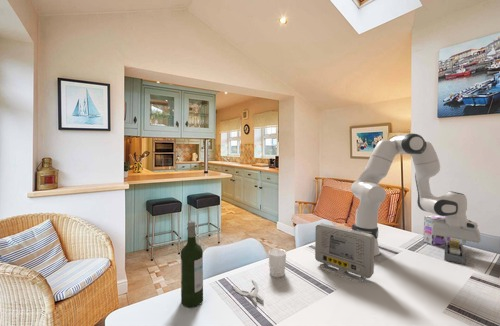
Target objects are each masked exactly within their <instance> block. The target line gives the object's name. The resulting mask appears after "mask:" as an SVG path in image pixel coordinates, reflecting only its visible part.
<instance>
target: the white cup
mask: <svg viewBox="0 0 500 326" xmlns="http://www.w3.org/2000/svg"><path fill="white" fill-rule="evenodd" d="M286 258H287V251H286V250H284V249H282V248H272V249H270V250H268V267H269V275H270V276H271V277H273V278H282V277H285V272H286V271H285V269H286V263H287V262H286V261H287V259H286Z"/></svg>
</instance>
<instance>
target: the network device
mask: <svg viewBox="0 0 500 326" xmlns="http://www.w3.org/2000/svg"><path fill="white" fill-rule="evenodd" d="M314 239H315V240H314V241H315V243H314V245H315V246H314V247H315V248H314V249H315V251H314V253H315V254H314V255H315V256H314V257H315V261H317V262H319V263H322V264H321V265H320V269H322V270H323V271H326V272H327V273H331V274H334V275H336V276H338V277H342V278H344V279H347V280H350V281H353V282H357V283H360V281H361V282H363V281H364V280H365V279H370V278H372V276H373V275H374V272H375V271H374V270H375V256H374V243H375V238H374V236H373V235H372V234H369V233H364V232H359V231H355V230H352V229H351V228H350V229H349V228H345V227H341V226H337V225H332V224H327V223H324V222H322V223H321V222H320V223H318V224H316V225H315V238H314ZM326 266H331V267H334V268H336V269H337V270H336V271H334V270H331V269H329V268H326ZM346 273H351V274H354V275H357V276H358V277H359V276H360V277H359V278H353V277H351V276H349V275H345V274H346ZM362 280H363V281H362Z"/></svg>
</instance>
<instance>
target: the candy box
mask: <svg viewBox="0 0 500 326" xmlns="http://www.w3.org/2000/svg"><path fill="white" fill-rule="evenodd" d="M435 218H437V219H444V220H445V216H439V215H436V214H434V215H424V222H423V242H424V243H426V244H429V245H430V246H435V245H436V246H437V245H445V243H446V241H445V239H444V236H439V235H433V234H432V226H433V225H432V224H431V221H432V219H435ZM447 241H450V237H447Z"/></svg>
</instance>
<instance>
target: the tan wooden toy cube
mask: <svg viewBox="0 0 500 326" xmlns="http://www.w3.org/2000/svg"><path fill="white" fill-rule="evenodd" d="M459 243H460V239H455V238H450V245H449V248H455V249H459ZM460 244H461V243H460Z"/></svg>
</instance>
